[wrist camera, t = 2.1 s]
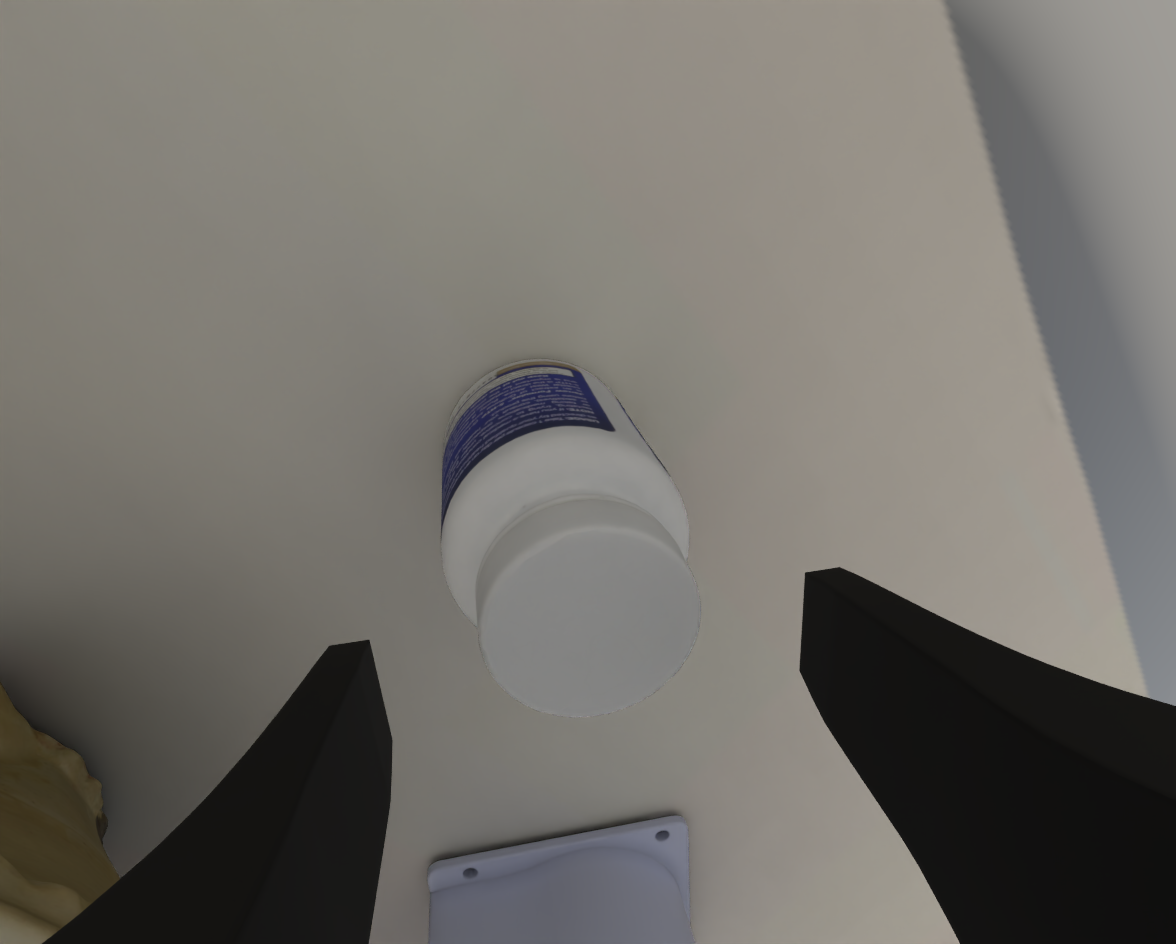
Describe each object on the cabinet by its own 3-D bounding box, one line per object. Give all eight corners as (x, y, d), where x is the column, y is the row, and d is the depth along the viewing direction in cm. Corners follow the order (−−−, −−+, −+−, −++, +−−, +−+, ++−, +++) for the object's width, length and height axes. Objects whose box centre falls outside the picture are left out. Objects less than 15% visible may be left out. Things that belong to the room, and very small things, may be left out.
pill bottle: (408, 478, 20) (377, 683, 12) (506, 318, 19) (544, 431, 11) (565, 558, 22) (628, 782, 14) (664, 417, 21) (795, 575, 13)
